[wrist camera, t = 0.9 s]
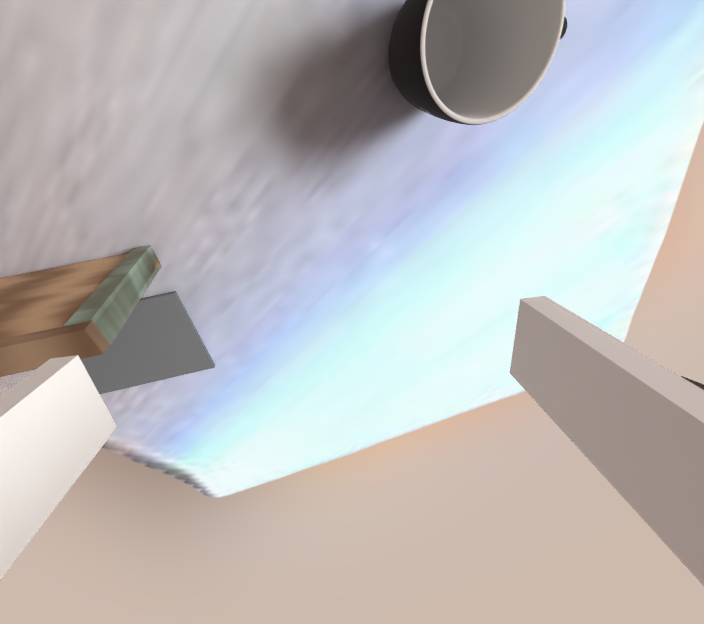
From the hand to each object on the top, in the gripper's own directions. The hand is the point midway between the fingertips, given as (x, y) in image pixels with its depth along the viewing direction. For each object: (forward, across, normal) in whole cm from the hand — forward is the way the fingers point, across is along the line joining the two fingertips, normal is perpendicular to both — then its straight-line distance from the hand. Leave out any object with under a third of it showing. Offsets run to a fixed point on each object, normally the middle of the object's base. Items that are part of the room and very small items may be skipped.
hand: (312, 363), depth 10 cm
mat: (+25, -23, -11) cm, 36 cm away
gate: (+22, -24, -2) cm, 33 cm away
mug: (+24, +12, +13) cm, 30 cm away
